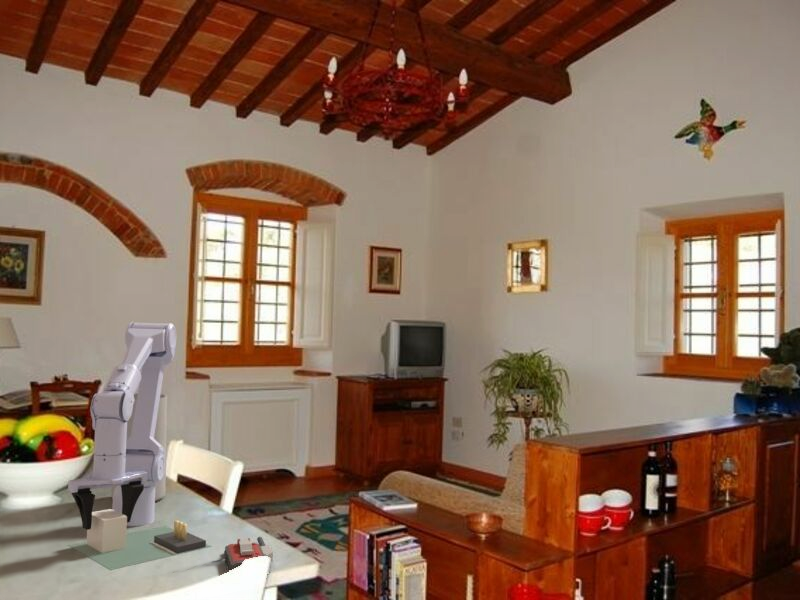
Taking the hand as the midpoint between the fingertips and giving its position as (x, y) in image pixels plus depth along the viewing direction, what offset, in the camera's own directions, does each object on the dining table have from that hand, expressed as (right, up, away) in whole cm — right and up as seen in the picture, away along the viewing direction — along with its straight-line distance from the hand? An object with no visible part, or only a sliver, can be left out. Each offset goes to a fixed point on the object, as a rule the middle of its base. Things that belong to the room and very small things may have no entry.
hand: (106, 524), depth 138 cm
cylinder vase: (-8, -6, +39) cm, 41 cm away
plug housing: (0, -4, 0) cm, 4 cm away
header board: (+6, -5, +1) cm, 8 cm away
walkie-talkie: (+28, -7, -3) cm, 29 cm away
